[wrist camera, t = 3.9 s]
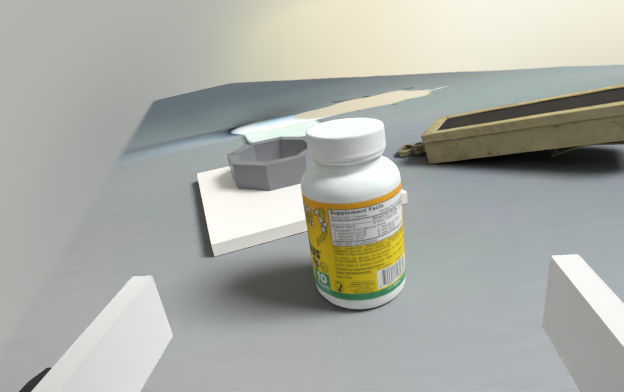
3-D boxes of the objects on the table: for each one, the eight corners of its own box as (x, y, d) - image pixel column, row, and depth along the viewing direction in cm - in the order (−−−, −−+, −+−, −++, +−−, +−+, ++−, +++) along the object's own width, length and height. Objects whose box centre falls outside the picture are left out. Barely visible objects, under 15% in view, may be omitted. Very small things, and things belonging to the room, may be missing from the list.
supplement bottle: (412, 310, 21) (405, 134, 17) (312, 315, 22) (285, 147, 18) (399, 255, 26) (392, 109, 22) (318, 261, 27) (297, 120, 23)
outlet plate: (407, 203, 33) (405, 163, 32) (214, 256, 29) (203, 213, 28) (330, 151, 49) (327, 123, 48) (198, 181, 45) (191, 152, 44)
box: (673, 158, 31) (673, 94, 30) (395, 186, 43) (385, 141, 41) (649, 130, 38) (648, 77, 36) (414, 161, 49) (406, 122, 48)
